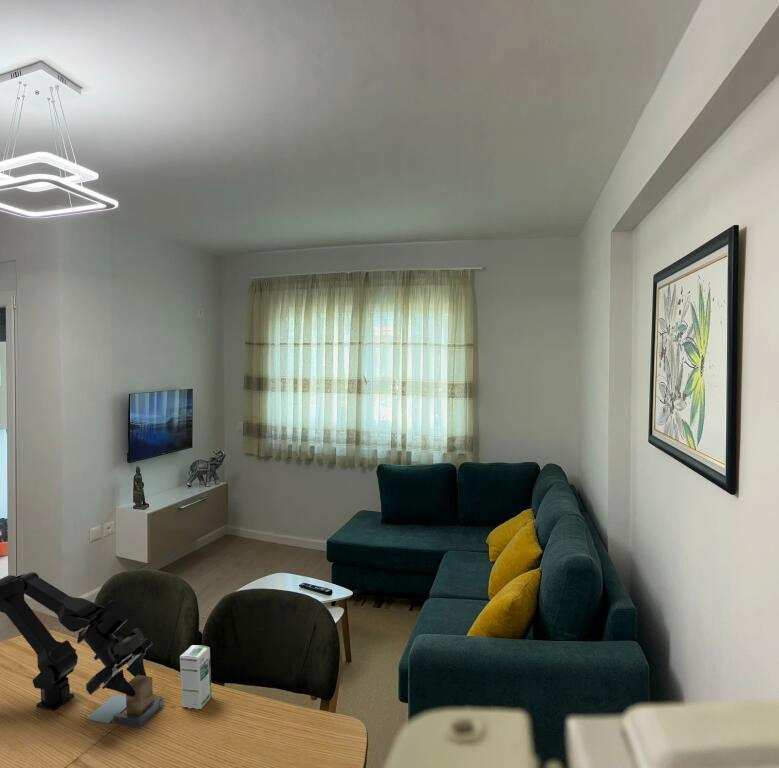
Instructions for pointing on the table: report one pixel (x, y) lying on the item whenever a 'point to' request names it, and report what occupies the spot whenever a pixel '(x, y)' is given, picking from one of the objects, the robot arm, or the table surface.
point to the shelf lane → (142, 718)
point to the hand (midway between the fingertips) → (140, 689)
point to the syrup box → (195, 676)
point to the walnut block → (139, 695)
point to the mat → (109, 709)
